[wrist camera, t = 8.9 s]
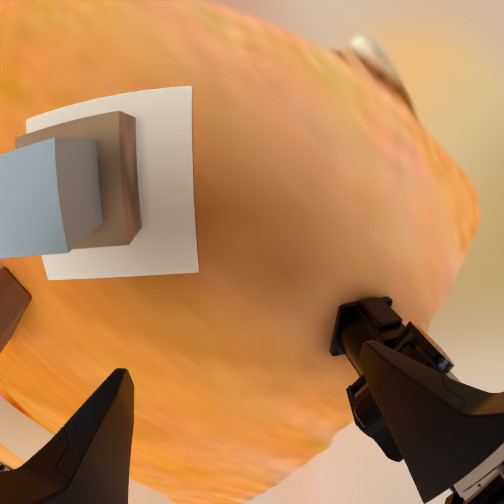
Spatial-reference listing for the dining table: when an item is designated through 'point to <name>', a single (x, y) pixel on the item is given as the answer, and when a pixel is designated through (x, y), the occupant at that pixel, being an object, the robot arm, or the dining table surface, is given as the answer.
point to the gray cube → (48, 197)
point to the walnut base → (106, 172)
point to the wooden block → (10, 305)
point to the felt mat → (142, 188)
